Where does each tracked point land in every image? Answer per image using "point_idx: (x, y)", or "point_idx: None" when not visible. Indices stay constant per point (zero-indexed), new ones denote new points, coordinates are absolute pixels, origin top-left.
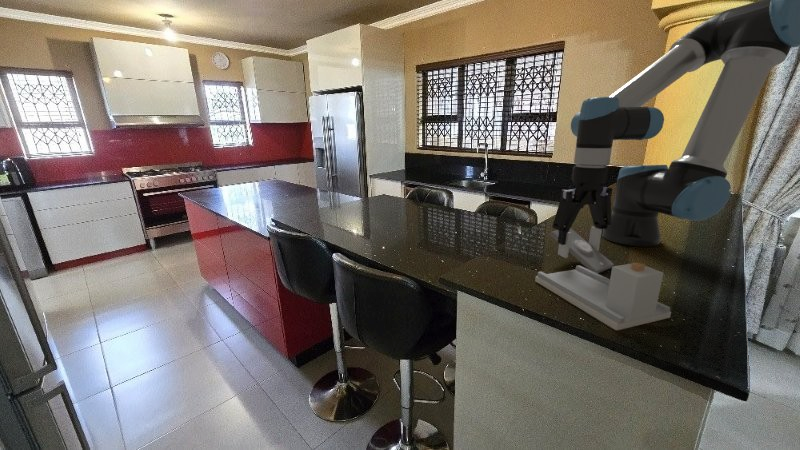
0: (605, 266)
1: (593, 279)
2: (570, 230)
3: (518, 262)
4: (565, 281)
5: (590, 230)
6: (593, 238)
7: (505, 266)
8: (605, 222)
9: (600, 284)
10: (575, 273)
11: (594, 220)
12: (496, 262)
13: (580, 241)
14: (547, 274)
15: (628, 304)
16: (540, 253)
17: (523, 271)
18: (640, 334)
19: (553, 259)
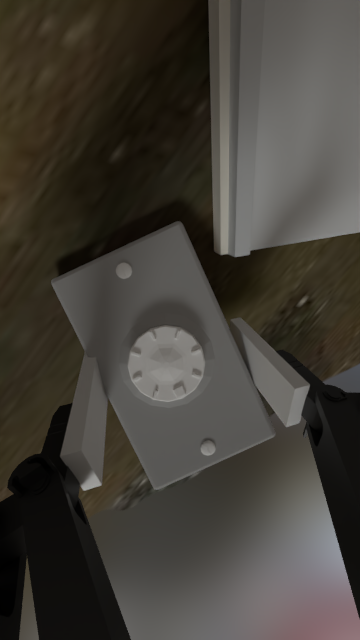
0: (112, 257)
1: (260, 137)
2: (165, 467)
3: (303, 345)
4: (357, 155)
5: (103, 460)
6: (99, 411)
7: (346, 325)
8: (4, 529)
9: (276, 70)
10: (273, 215)
11: (90, 536)
12: (343, 348)
13: (169, 390)
14: (351, 230)
15: None
16: None
17: (338, 292)
18: None
19: None
